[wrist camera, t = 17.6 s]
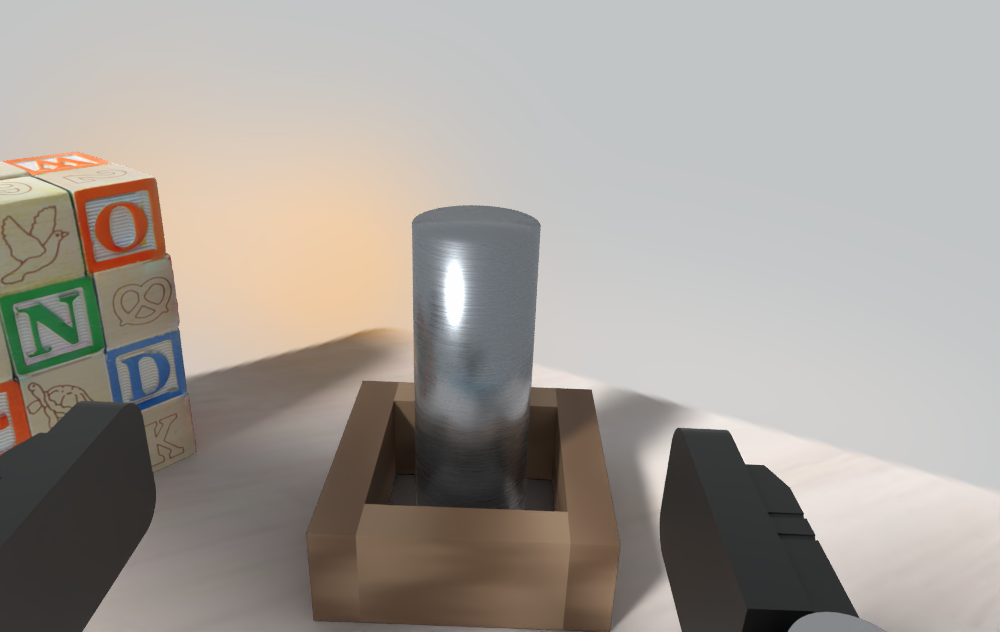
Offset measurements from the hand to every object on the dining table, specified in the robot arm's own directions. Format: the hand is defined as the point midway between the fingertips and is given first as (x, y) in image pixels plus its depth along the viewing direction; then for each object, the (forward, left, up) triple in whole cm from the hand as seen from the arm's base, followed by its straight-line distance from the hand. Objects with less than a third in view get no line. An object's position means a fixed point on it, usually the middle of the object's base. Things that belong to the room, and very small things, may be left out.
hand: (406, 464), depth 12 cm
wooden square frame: (0, +13, -12) cm, 18 cm away
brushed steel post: (+1, +13, -12) cm, 18 cm away
